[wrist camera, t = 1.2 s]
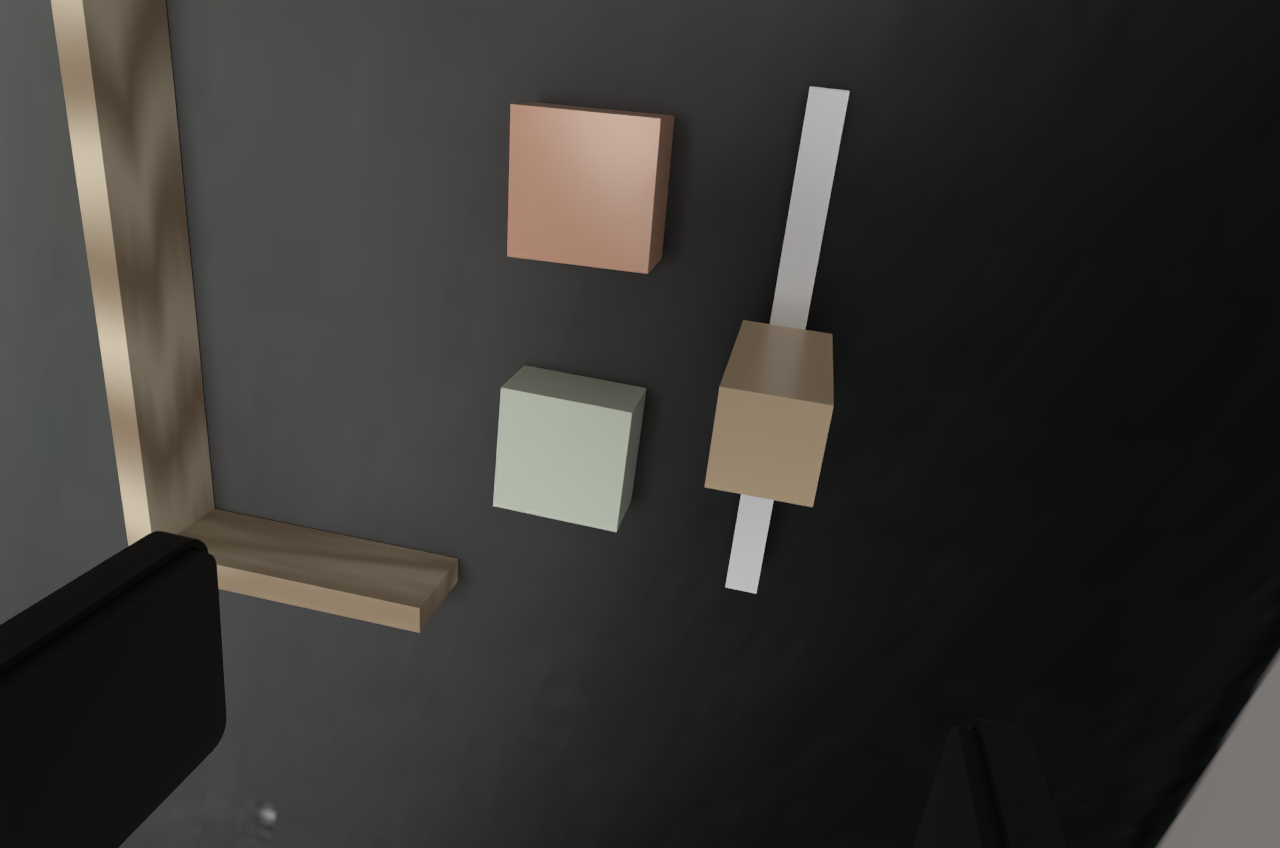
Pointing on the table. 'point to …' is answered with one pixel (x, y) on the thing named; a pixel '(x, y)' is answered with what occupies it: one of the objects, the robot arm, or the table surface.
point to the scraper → (781, 365)
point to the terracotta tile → (588, 185)
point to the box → (187, 336)
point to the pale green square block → (567, 447)
